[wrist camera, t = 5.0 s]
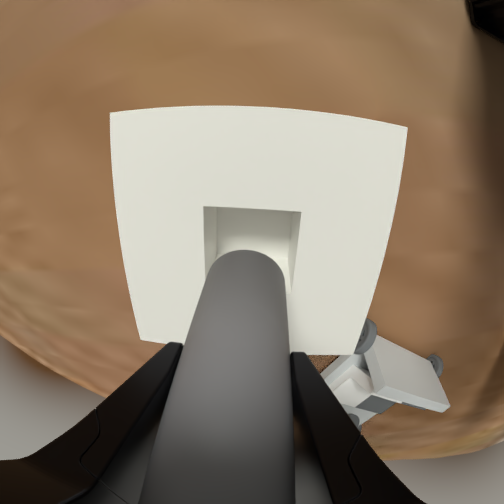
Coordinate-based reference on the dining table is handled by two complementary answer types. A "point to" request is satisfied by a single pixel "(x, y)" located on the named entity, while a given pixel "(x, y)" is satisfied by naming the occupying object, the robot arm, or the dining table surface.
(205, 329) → the peg
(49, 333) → the dining table surface
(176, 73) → the dining table surface
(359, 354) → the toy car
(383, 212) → the socket block
